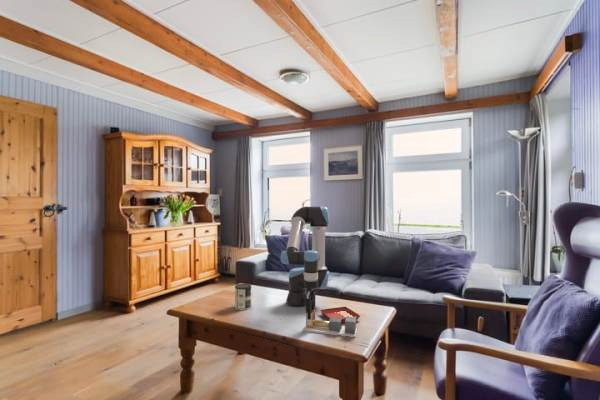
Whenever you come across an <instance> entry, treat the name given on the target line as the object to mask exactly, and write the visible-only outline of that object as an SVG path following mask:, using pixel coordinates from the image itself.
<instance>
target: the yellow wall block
mask: <svg viewBox="0 0 600 400" xmlns="http://www.w3.org/2000/svg"><path fill="white" fill-rule="evenodd" d="M305 325H306V327H314V326H317V327H325V328H329V320H319V319H316V309H314V310H313V309H312V325H307V313H305ZM340 328H341V324H340Z"/></svg>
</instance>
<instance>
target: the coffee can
mask: <svg viewBox="0 0 600 400" xmlns="http://www.w3.org/2000/svg"><path fill="white" fill-rule="evenodd" d="M234 290H235V292H234V295H235V296H234V298H235V299H234V301H235V303H234V306H235V307H234V309H235V310H238V311H247V310H250V309H251V308H252V284H250V283H238V284H236V285H234Z"/></svg>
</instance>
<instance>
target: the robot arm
mask: <svg viewBox="0 0 600 400" xmlns="http://www.w3.org/2000/svg"><path fill="white" fill-rule="evenodd" d="M290 224H291V225H290V231H289V235H288V239H287V240H288V241H287V244H286V249H285V250H282V251H281V253H280V262H281V264H282V265H298V266H299V265H301V266H303V267H294V268H292V269H290V270H288V271H289V272H288V293H287V296H286V299H285V300H286V301H285V302H286V303H285V304H286V305H287V306H289V307H295V308H301V307H305V312H304V313H305V314H306V313H307V325H312V309H313V310H316V309H317V307H316V291H317V290H325V289H327V287H328V284H329V277H330V271H329V270H328V267H327V266H326V229H327V228H328V225H330V224H331V223H330V214H329V208H328V207H327V206H302V207H300V208H298V209H297V210H296V211H295V212H294V213H293V214H292V216H291V219H290ZM305 225H309V227H310V228H311V231H312V233H311V235H312V236H311V250H305V251H300V247H301V246H300V245H301V241H302V236H303V235H302V234H303V229H304V227H305Z"/></svg>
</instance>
